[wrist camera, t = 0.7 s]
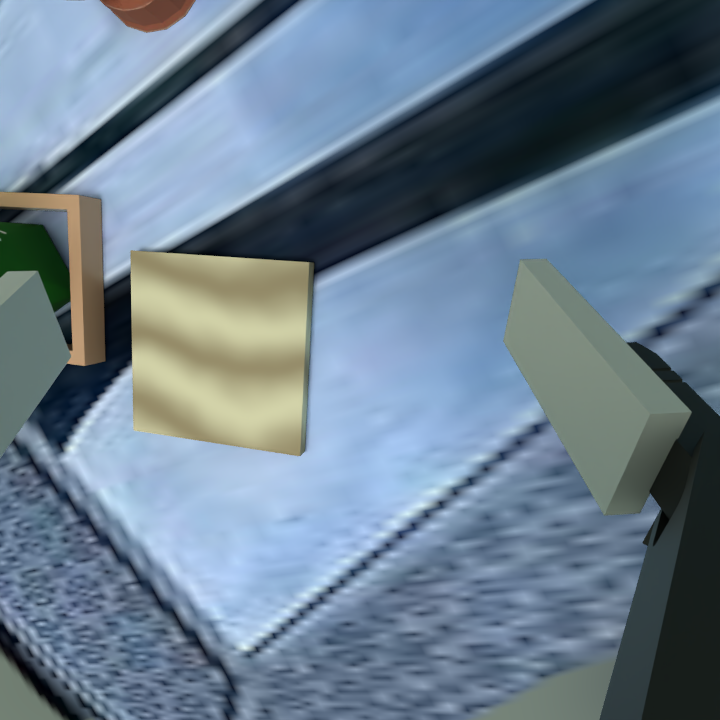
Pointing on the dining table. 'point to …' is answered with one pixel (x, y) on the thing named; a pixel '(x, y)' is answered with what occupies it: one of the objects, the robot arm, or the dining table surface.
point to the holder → (77, 267)
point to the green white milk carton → (35, 259)
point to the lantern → (149, 12)
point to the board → (221, 349)
